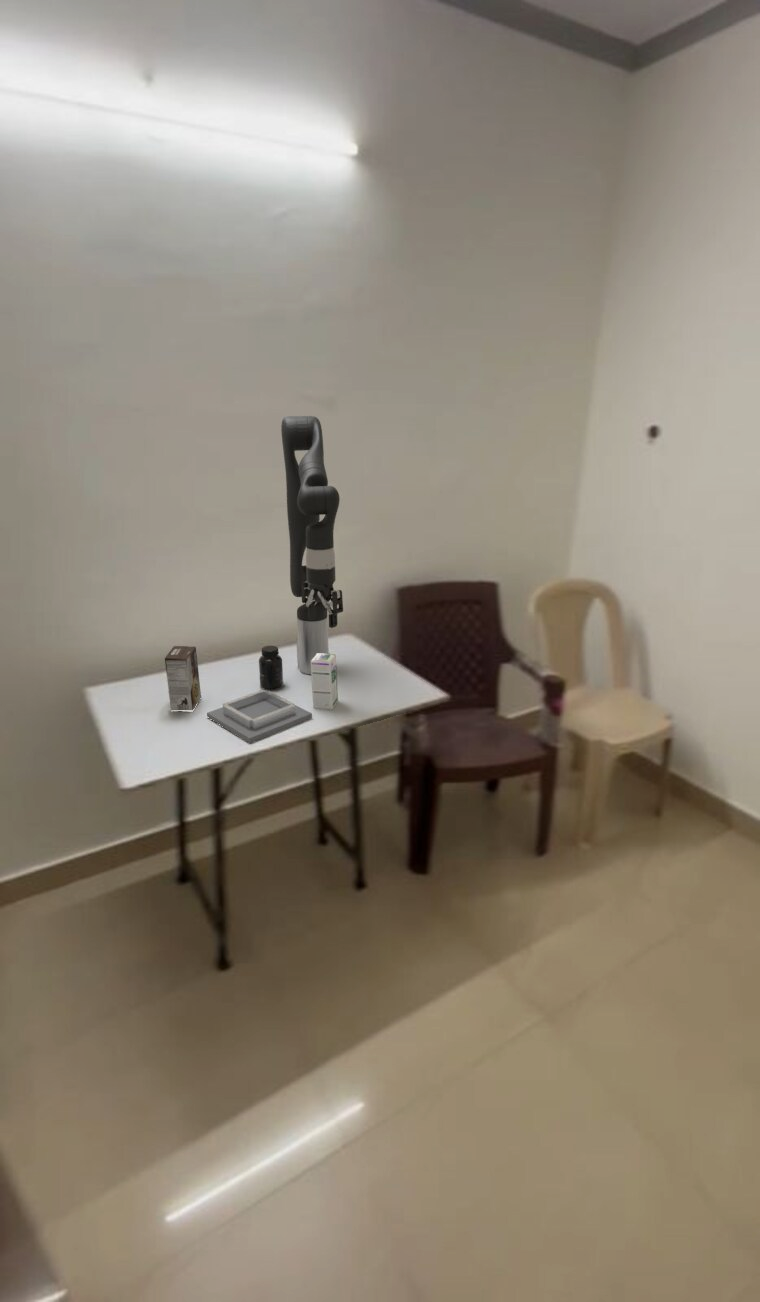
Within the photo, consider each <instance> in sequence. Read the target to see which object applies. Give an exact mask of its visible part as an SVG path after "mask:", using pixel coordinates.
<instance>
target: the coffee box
mask: <svg viewBox="0 0 760 1302" xmlns="http://www.w3.org/2000/svg"><path fill="white" fill-rule="evenodd" d="M164 662H165V663H164V664H165V671H166V679H167V680H166V681H167V687H168V696H169V705H170V711H171V710H193V709H194V708H195V706H196V704H197V703H198V701H199V700H200V701H201V699H202V692H201V684H200V682H201V681H200V673H199V665H198V656H197V647H196V646H189V645H188V646H187V645H186V646H185V645H173V647H172V648H171V649H170V650H169V652H168V653H167V655H166V656H165V657H164ZM200 698H201V699H200ZM200 701H199V702H200ZM198 704H199V703H198ZM198 704H197V705H198ZM196 707H197V706H196ZM195 709H196V708H195Z"/></svg>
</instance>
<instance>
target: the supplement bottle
mask: <svg viewBox="0 0 760 1302" xmlns="http://www.w3.org/2000/svg"><path fill="white" fill-rule="evenodd" d="M279 654H280V653H279V647H278V646H277V645H265V646H263V647H261V656H260V657H259V658H258V669H259V673H258V674H259V685H260V687H261V688H262V690H266V689H267V690H268V691H274V690H279V689H281V688H282V687H283V686H284V673H283V667H284V666H283V658H282V657H281V655H279ZM267 690H266V691H267Z"/></svg>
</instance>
